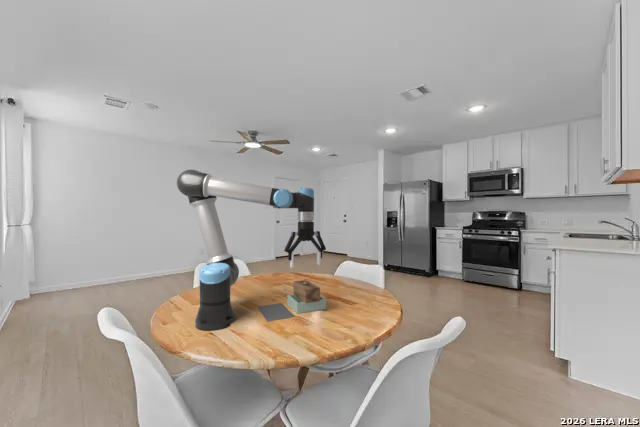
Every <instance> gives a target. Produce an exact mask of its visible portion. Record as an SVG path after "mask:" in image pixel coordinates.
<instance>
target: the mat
mask: <svg viewBox="0 0 640 427" xmlns="http://www.w3.org/2000/svg"><path fill="white" fill-rule="evenodd" d="M256 307H257V309H258V311H259V312H260V314H262V316H263V318H264V319H265V320H266V322H267V323H268V322H273V321H275V322H276V321H280V320H286V319H291V318H296V316H295V315H294V314H293V313H292V311H290V310H289V309H288V308H287V307H286V306H285V305H284V304H283V303H282V302H280V303H273V304H266V305H258V306H257V305H256Z"/></svg>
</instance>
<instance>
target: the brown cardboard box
mask: <svg viewBox="0 0 640 427" xmlns="http://www.w3.org/2000/svg"><path fill="white" fill-rule="evenodd" d="M292 285H293V287H292V289H293V290H292V292H293V293H292V294H294V295H296V296H297V297H298V298H300V299H301V300H302V301H303V302H305V303H310V302H317V301H320V296H321V287H320V286H318V285H317V284H314V283H313V282H311V281H310V280H308V279H304V280H303V279H302V280H294V281H293V283H292Z"/></svg>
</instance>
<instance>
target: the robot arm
mask: <svg viewBox="0 0 640 427" xmlns="http://www.w3.org/2000/svg"><path fill="white" fill-rule="evenodd" d="M176 187H177V189H178V191H179V192H180V193H181V194H182V195H184V196H186V197H187V198H188V202H189V205H190V206H192V207H193V208H194V210H195V213H196V217H197V220H198V225H199V228H200V232H201V236H202V238H203V242H204V247H205V249H206V253H207V257H208V259H207V261H206V265H204V266H202V267H201V268H200V270H199V274H198V275H199V308H198V310H197V314H196V316H195V320H194V327H195V328H197V329H198V330H200V331H215V330H221V329H224V328H227V327H229V326H231V324H232V323H234V322H235V319H236V316H235V314H236V313H235V312H234V309H233V305H232V303H231V287H232V286H233V285H234V284H236V282H237V280H238V278H239V276H240V275H239V274H240V270H239V266H238V264H237V263H236V262H235V260H234V257H233V255H232V254H230V253H229V251H228V247H227V244H226V240H225V236H224V232H223V229H222V226H221V221H220V218H219V215H218V211H217V208H216V204H215V203H216V202H217V200H218V198H224V199H230V200H237V201H241V202H249V203H253V204H259V205H267V206H271V207H272V208H273V209H280V210H281V209H297V221H298V222H297V231H291V233H290V236H289V239H288V241H287V243H286V246H285V247H284V250H283V251H284V252H285V253H287V255H288V256H287V258H288V261H289V267H290V268H291V269H293V268H294V267H295V266H294V259H295V258H294V254H295V253H294V251H295V250H296V248H297V247H298V246H299V244H300V243H302V242H311V243H312V244H313V246H314V247H315V248H316V250H317V251H316V265H317V266H321V265H322V264H321V263H322V262H321V260H322V259H323V253H324V252H325V251H326V250H327V247H326V245H325V243H324V240H323V238H322V236H321V231H319V230H316V231H314V229H315V228H314V227H315V223H314V221H315V195H314V194H315V193H314V189H313V188H309V187H299V188H298V189H297V191H296V192H291V191H290V190H288V189H285V188H276V187H270V186H264V185H259V184H253V183H247V182H242V181H238V180H237V181H236V180H232V179H226V178H220V177H215V176H212V174H210V173H205V172H201V171H199V170H196V169H186V170H184V171H182V172H181V173H179V175H178V176H177V179H176ZM217 197H218V198H217ZM297 236H298V237H297ZM314 236H315V237H316V239H317V241H316V240H315V237H314ZM295 237H297V238H296V239H295ZM294 240H295V242H294Z"/></svg>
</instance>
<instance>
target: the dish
mask: <svg viewBox="0 0 640 427" xmlns="http://www.w3.org/2000/svg"><path fill="white" fill-rule="evenodd" d="M286 297H287V303H286V305H288V306H289V308H290V309H292V310H293V311H294V312H295V313H296V314H297V315H298V314H299V315H300V314H304V313H310V312H317V311H327V298H325V297H323V296H322V295H320V301H317V302H310V303H305V302H303V301H302V300H301V299H300V298H298V297H297V296H296V295H294V294H293V293H292V294H287V296H286Z"/></svg>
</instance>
